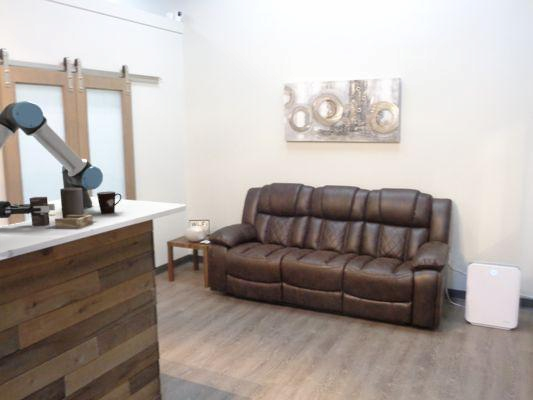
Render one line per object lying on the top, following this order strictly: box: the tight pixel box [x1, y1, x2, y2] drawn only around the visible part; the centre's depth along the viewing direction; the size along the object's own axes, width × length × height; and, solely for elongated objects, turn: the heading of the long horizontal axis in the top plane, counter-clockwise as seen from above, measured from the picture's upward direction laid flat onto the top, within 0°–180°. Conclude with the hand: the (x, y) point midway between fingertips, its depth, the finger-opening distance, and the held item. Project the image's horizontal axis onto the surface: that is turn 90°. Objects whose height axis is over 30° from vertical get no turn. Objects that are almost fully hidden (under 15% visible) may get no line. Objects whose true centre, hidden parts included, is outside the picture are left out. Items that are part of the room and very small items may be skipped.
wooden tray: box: [54, 214, 94, 229], centre depth 215 cm, size 10×12×4 cm
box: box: [29, 196, 50, 226], centre depth 218 cm, size 6×4×12 cm
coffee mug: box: [96, 190, 122, 215], centre depth 246 cm, size 12×9×10 cm
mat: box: [44, 220, 98, 230], centre depth 216 cm, size 16×15×1 cm
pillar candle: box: [59, 186, 85, 218], centre depth 235 cm, size 10×10×15 cm
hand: (51, 208), depth 217 cm, fingers closed on box, 4 cm apart
